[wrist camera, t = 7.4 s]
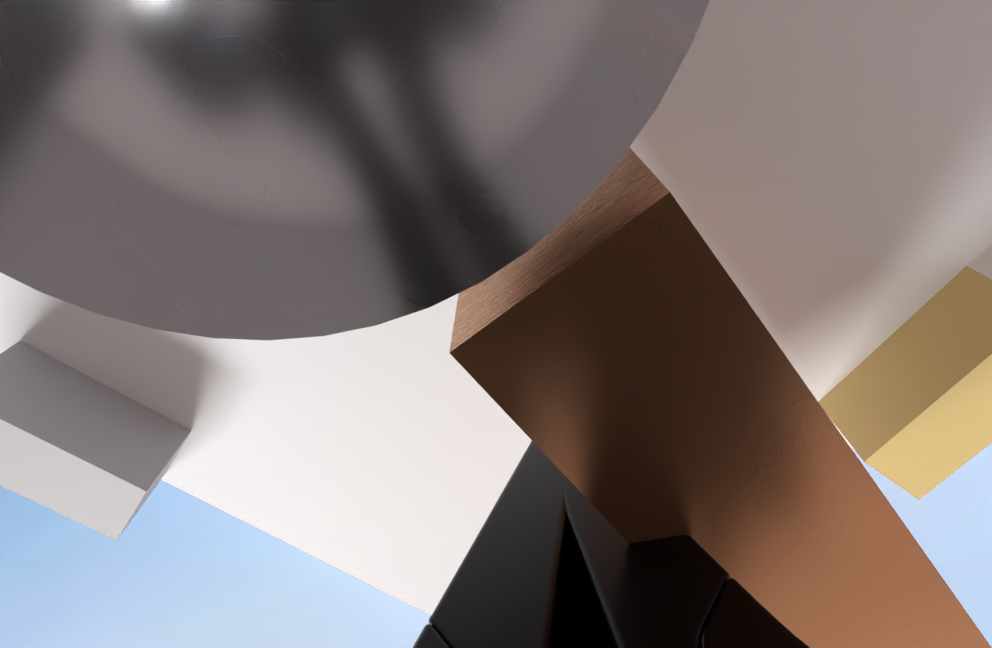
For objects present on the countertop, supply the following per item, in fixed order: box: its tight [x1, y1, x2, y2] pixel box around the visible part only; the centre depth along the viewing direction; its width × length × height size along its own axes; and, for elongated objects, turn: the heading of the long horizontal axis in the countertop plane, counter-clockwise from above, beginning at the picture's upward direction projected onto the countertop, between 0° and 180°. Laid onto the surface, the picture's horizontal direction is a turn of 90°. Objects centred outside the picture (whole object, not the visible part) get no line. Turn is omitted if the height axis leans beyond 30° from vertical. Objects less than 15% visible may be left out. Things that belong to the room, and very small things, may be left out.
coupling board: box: [0, 0, 992, 615], centre depth 8 cm, size 19×19×3 cm
